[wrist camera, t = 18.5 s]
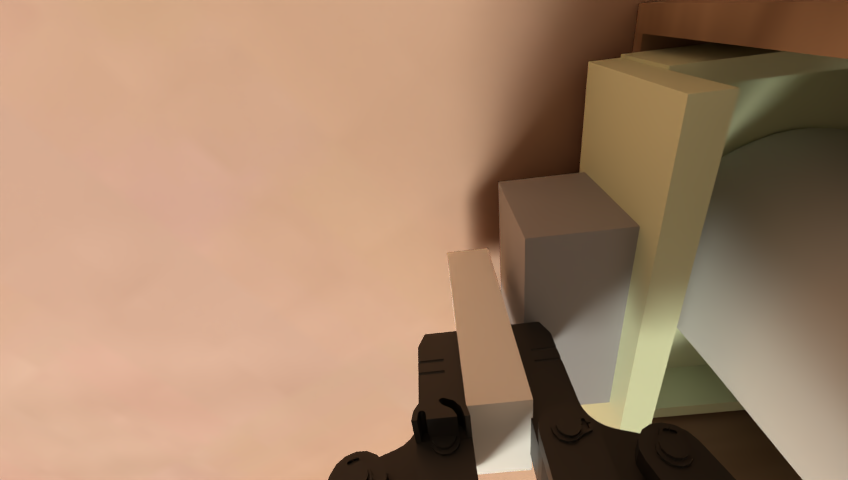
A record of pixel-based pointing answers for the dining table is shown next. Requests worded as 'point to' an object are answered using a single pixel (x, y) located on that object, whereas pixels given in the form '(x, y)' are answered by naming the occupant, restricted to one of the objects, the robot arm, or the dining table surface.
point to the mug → (780, 292)
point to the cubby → (761, 28)
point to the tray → (647, 216)
